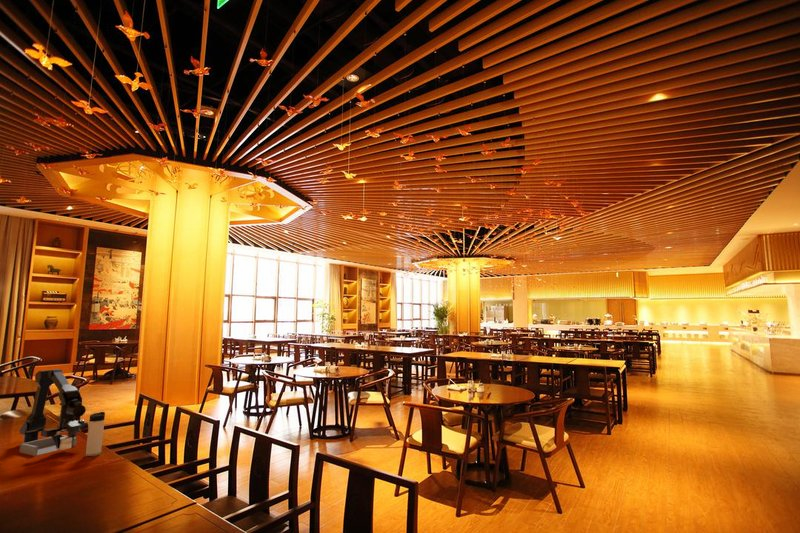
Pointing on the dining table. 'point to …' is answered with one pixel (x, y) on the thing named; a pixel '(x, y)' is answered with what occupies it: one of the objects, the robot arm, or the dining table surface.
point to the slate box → (41, 446)
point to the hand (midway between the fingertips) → (63, 447)
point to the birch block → (65, 443)
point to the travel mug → (95, 434)
